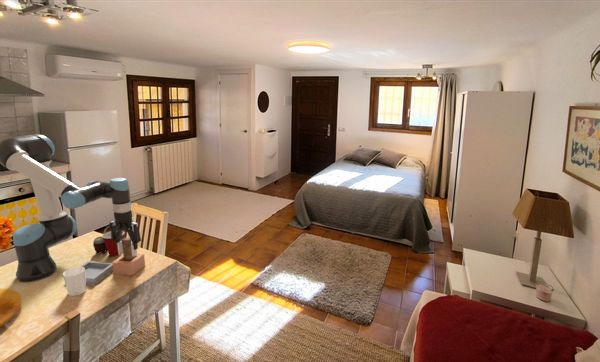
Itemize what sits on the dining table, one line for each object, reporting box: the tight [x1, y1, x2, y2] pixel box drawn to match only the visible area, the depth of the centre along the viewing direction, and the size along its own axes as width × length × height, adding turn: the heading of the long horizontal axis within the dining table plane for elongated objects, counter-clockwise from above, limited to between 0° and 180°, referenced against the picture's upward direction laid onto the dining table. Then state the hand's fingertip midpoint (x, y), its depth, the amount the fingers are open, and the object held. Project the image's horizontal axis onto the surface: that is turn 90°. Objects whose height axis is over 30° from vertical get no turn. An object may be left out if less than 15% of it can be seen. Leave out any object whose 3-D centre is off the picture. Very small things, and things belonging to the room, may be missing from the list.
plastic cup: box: [100, 230, 125, 257], centre depth 173 cm, size 11×11×12 cm
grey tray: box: [79, 260, 114, 285], centre depth 154 cm, size 14×14×3 cm
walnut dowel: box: [122, 237, 133, 262], centre depth 158 cm, size 4×4×16 cm
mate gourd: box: [92, 225, 110, 255], centre depth 174 cm, size 8×8×15 cm
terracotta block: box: [111, 253, 146, 276], centre depth 159 cm, size 10×10×6 cm
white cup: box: [62, 266, 87, 297], centre depth 140 cm, size 8×8×10 cm
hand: (128, 254), depth 158 cm, fingers open, 6 cm apart
